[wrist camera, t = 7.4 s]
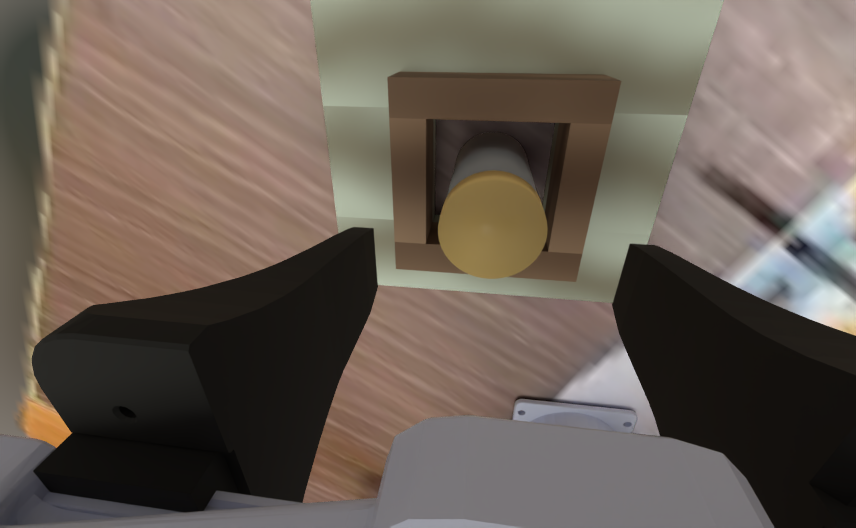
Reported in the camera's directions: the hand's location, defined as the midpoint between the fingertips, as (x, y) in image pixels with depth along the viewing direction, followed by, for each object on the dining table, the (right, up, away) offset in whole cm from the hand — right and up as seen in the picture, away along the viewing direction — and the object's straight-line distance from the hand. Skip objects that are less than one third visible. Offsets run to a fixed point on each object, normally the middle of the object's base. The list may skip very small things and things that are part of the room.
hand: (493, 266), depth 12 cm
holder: (+1, +5, +8) cm, 10 cm away
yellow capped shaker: (+1, +5, +9) cm, 10 cm away
